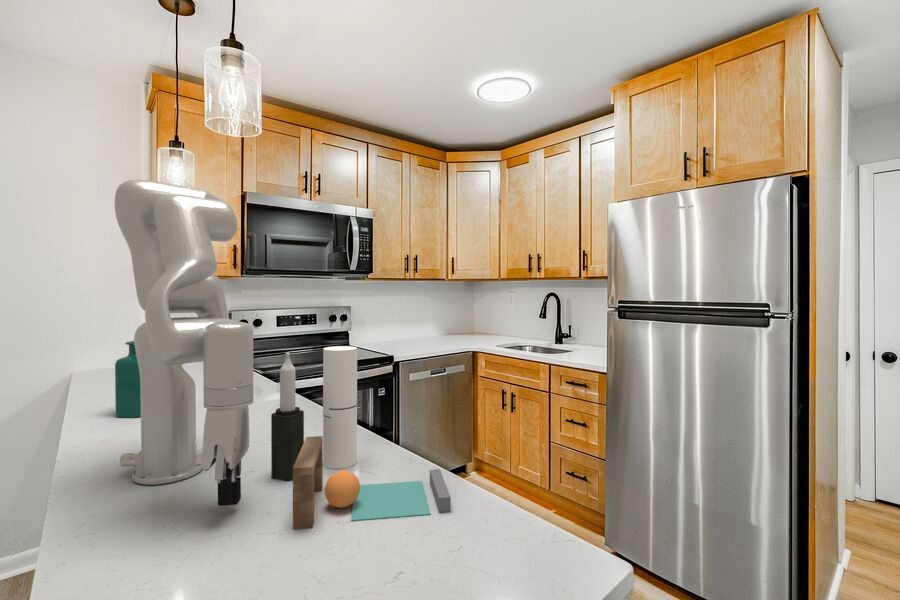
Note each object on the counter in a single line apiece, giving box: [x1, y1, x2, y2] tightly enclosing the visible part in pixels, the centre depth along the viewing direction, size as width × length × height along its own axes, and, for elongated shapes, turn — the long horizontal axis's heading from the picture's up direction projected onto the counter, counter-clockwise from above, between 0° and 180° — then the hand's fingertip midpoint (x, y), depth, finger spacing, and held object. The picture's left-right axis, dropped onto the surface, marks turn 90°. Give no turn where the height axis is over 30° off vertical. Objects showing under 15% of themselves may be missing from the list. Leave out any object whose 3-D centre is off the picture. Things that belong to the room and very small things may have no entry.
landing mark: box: [351, 480, 431, 522], centre depth 80 cm, size 13×13×1 cm
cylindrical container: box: [322, 345, 358, 470], centre depth 97 cm, size 7×7×25 cm
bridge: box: [292, 435, 324, 530], centre depth 78 cm, size 3×15×10 cm, turn 10°
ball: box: [324, 469, 361, 509], centre depth 78 cm, size 6×6×6 cm
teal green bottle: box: [114, 340, 141, 419], centre depth 133 cm, size 10×8×22 cm
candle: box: [270, 351, 305, 482], centre depth 90 cm, size 5×5×25 cm
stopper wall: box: [429, 468, 452, 513], centre depth 82 cm, size 2×12×2 cm, turn 10°
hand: (229, 502), depth 76 cm, fingers closed
